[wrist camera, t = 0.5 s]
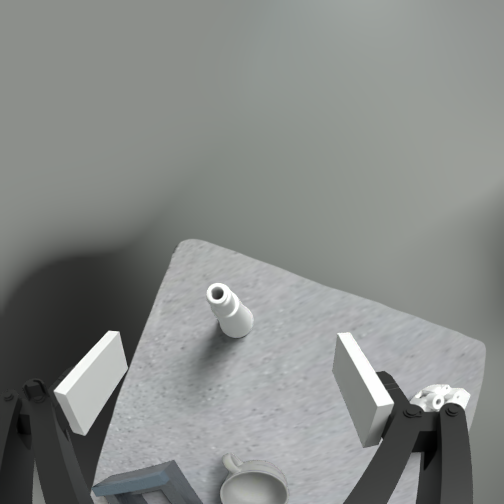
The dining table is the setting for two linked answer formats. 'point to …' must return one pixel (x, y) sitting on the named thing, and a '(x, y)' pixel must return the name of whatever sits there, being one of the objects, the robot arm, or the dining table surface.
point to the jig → (148, 485)
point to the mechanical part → (439, 397)
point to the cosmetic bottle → (229, 311)
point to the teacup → (253, 482)
